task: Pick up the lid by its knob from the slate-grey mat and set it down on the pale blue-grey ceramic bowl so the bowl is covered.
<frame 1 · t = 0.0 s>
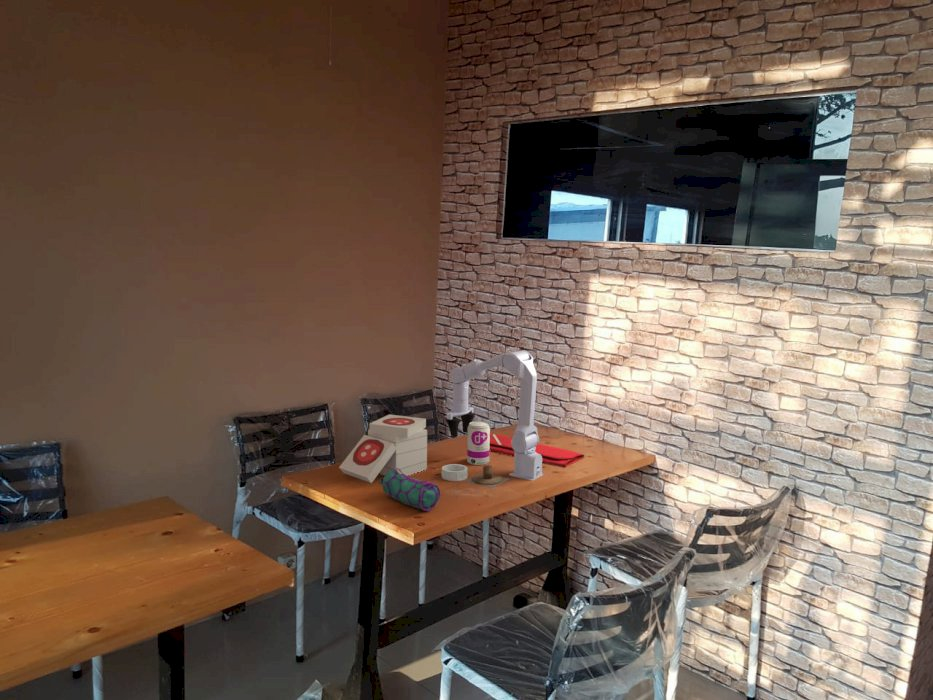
hand: (460, 434, 271), 10 cm above the table, tool pointing down, fingers open, 7 cm apart
pencil case: (410, 503, 229), on the table
mat: (487, 481, 250), on the table
bowl: (454, 477, 253), on the table
lid: (487, 480, 250), resting on mat
dish drying mat: (527, 454, 285), on the table
pizza boxes: (386, 474, 257), on the table
supplement can: (478, 463, 270), on the table
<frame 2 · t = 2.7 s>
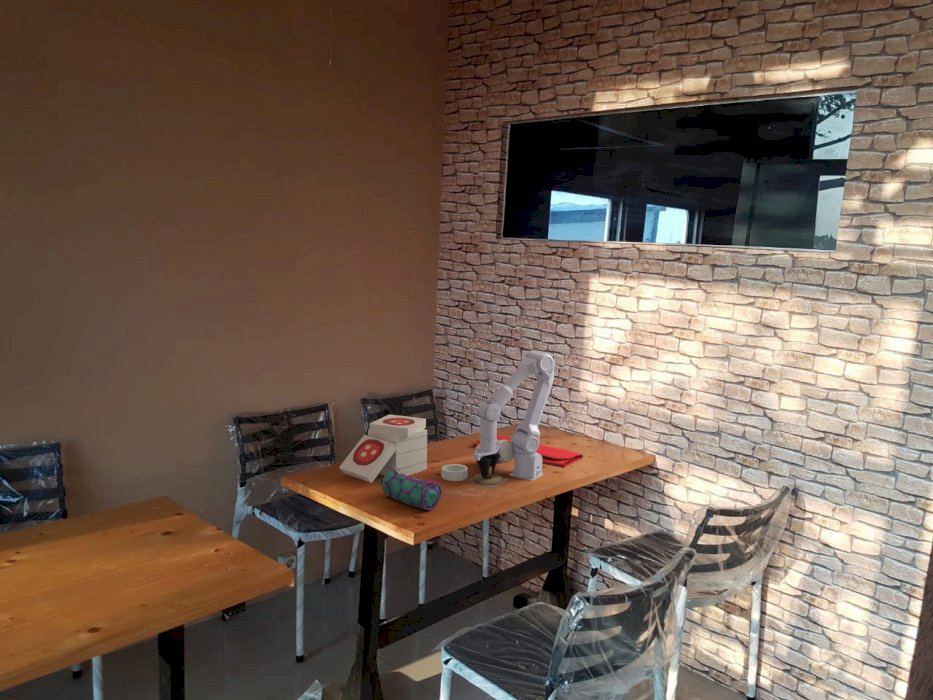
hand: (487, 475, 250), 2 cm above the table, tool pointing down, fingers closed on lid, 3 cm apart
lid: (487, 480, 250), resting on mat, touching gripper
supplement can: (481, 454, 268), point 4 cm above the table, touching arm
everything else where it was.
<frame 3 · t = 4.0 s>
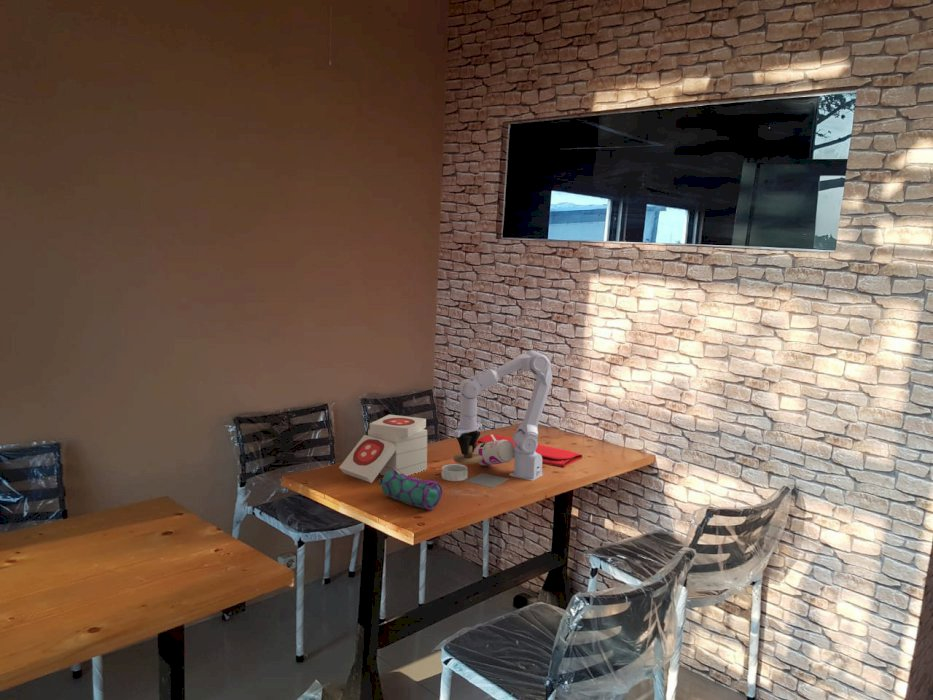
hand: (467, 453, 251), 9 cm above the table, tool pointing down, fingers closed on lid, 3 cm apart
lid: (468, 459, 251), point 7 cm above the table, touching gripper
everything else where it was.
when the fingers open (6 cm above the table, at t = 5.2 s): lid stays where it is, resting on bowl.
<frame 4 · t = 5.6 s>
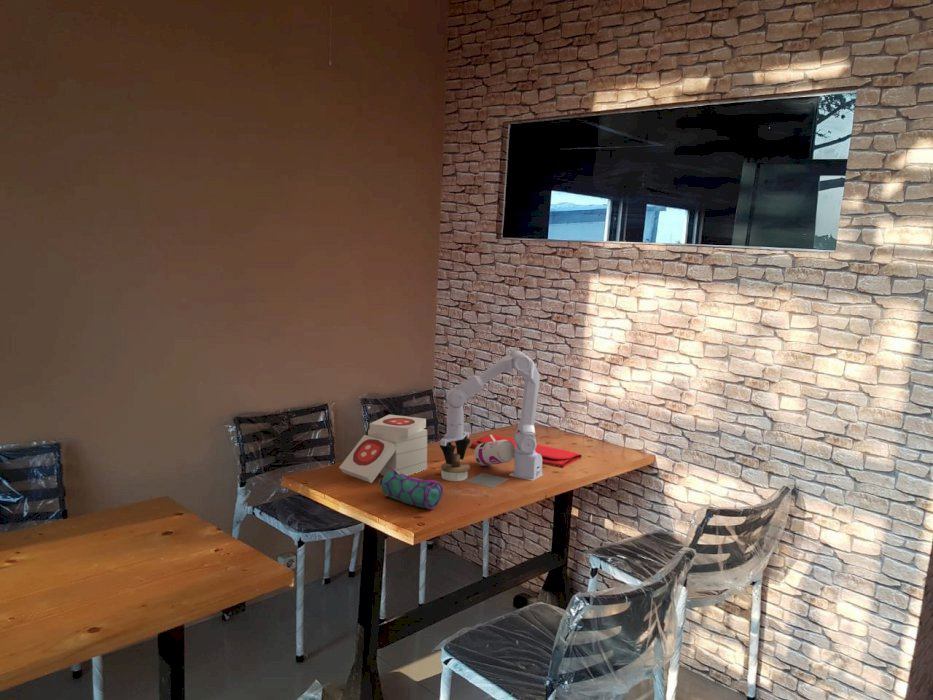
hand: (454, 461, 252), 6 cm above the table, tool pointing down, fingers open, 6 cm apart
lid: (455, 468, 253), point 3 cm above the table, touching bowl
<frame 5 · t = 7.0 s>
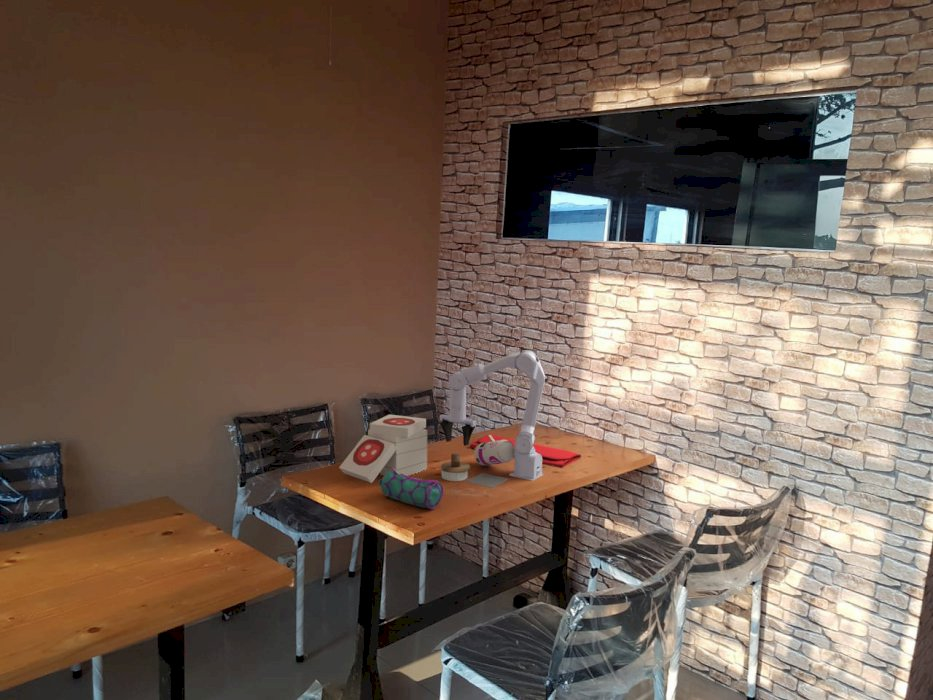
hand: (457, 443, 260), 10 cm above the table, tool pointing down, fingers open, 7 cm apart
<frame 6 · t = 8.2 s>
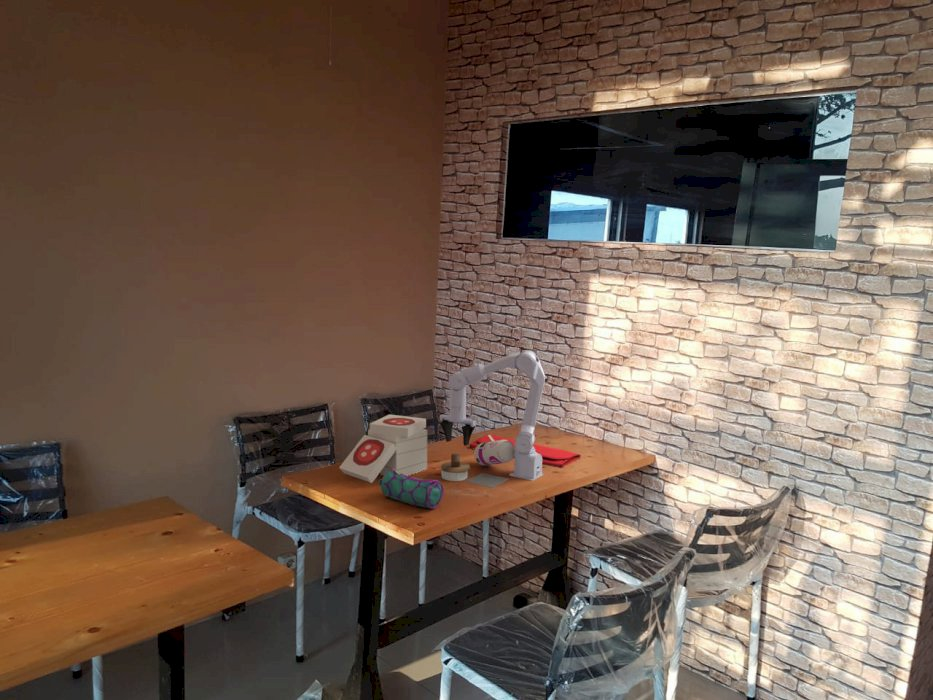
hand: (457, 443, 260), 10 cm above the table, tool pointing down, fingers open, 7 cm apart
at the end: lid 0.3 cm off-centre on the bowl, point 3.5 cm above the bowl's base; lid tilted 0°; the gripper is holding nothing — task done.
